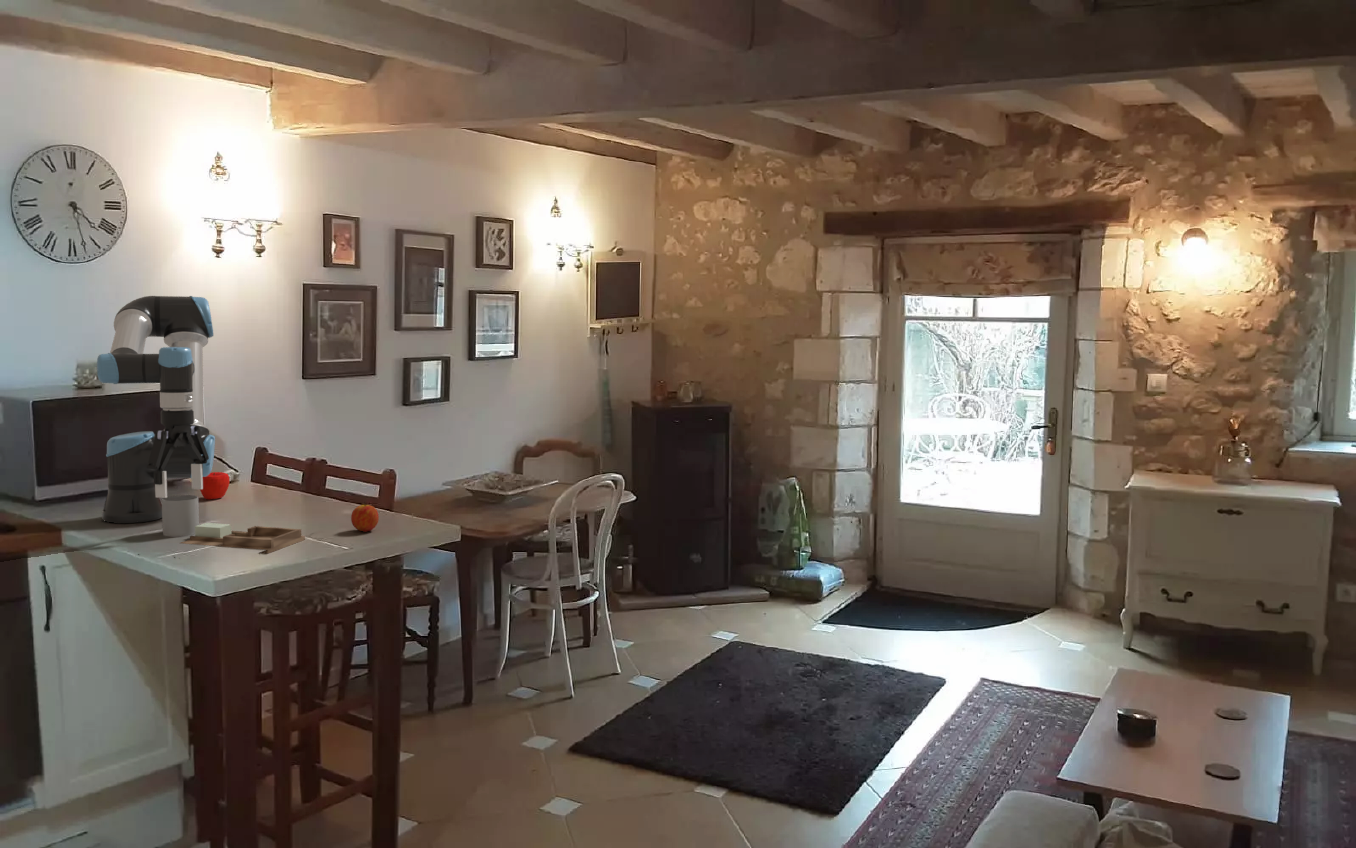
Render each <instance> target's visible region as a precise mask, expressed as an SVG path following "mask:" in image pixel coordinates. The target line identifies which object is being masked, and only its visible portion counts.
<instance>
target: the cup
mask: <svg viewBox="0 0 1356 848" xmlns="http://www.w3.org/2000/svg"><path fill="white" fill-rule="evenodd" d="M161 504H162V518H161V520H162V535H163V536H164V537H172V538H173V537H177V538H179V537H188V536H189V537H190V536H195V526H198V525H200V517H199V516H200V513H199V512H200V510H199V508H200V507H199V496H197V495H193V494H191V495H190V494H179V495H178V494H177V495H169V496H168V495H167V498H161Z"/></svg>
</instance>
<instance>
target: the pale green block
mask: <svg viewBox="0 0 1356 848" xmlns="http://www.w3.org/2000/svg"><path fill="white" fill-rule="evenodd" d="M231 531H232V524H229V523H217V522H216V523H215V522H205V523H202V524H199V525H198V526H195V535H194V536H202V537H215V538H223V536H226V535H229V534H232V532H231Z"/></svg>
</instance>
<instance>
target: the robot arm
mask: <svg viewBox="0 0 1356 848" xmlns="http://www.w3.org/2000/svg"><path fill="white" fill-rule="evenodd" d="M212 320H213V319H212V314H211V309H210V305H209V301H208V299H206V298H205V297H202V296H201V297H200V296H193V295H189V296H179V295H178V296H177V295H176V296H174V295H173V296H170V295H169V296H168V295H163V296H162V295H148V296H142V297H139V298H136V299H134V300H132V301H129V302H128V303H126V304H125V305H124V306H122V307H121V308H120V309H119V310H118V312H117V313H116V314H115V317H114V321H113V328H114V331H115V332H114V337H113V340H112V344H111V347H110V352H108V353H101V354H98V356H97V360H96V371H97V372H96V373H97V378H98V381H99V382H100V383H101V384H102V383H103V384H113V385H118V384H120V385H122V384H124V385H125V384H159V407H160V408H161V409H162V410H161V411H160V424H161V425H162V426H164V429H163V430H155V431H152V430H151V431H150V430H147V431H146V430H145V431H137V432H131V433H130V432H129V433H124V434H119V435H116V436H113V437H110V438H109V440H107V443H106V454H105V456H106V463H107V465H106V467H107V487H108V488H107V495H106V498H105V502H104V505H103V509H102V511H101V520H102V519H103V520H105V521H108V522H107V523H109V522H114V523H113V524H134V523H145V522H152V521H156V520H159V519H162V500H161V499H162V498H167V497H168V481H167V480H171V479H191V490H200V489H203V477H206V476H208V475H209V474H210V473H212V470H213V465H214V459H215V458H214V457H215V446H216V437H215V435H212V434H210V429H209V427H207V426H206V425H205V424H204V371H203V370H204V369H203V366H204V365H203V364H204V363H203V361H204V360H203V358H204V356H203V355H204V354H203V349H204V347H205V346H207V345H208V344H209V339H210V338H212V337H214V327H213V322H212ZM148 337H149V338H150V337H151V338H155V337H156V338H163V342H164V344H165V345H166V346H167V347H166V346H163V347H161V348H159V350H158V353H144V350H145V345H146V340H147V338H148ZM103 520H102V521H103ZM105 521H104V522H105Z"/></svg>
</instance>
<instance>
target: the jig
mask: <svg viewBox="0 0 1356 848" xmlns="http://www.w3.org/2000/svg"><path fill="white" fill-rule="evenodd" d="M246 530H247V531H242V530H241V531H239V530H231V532H232V534H229V535H226V536H223V538H215V537H202V536H195V535H189V539H188V540H185V541H182V542H180V544H186V545H199V546H200V545H201V546H212V547H225V548H239V549H250V550H251V549H253V550H262V551H260V552H258V554H265V555H267V554H271V553H274V552H276V551H279V550H281V549H284V548H287V547H290V546H292V545H294V544H298V543H300V542H303V541H305V540H306V537H305V535H302V528H287V527H275V526H274V527H273V526H258V525H254V526H251V527H248V528H247V529H246Z"/></svg>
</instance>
